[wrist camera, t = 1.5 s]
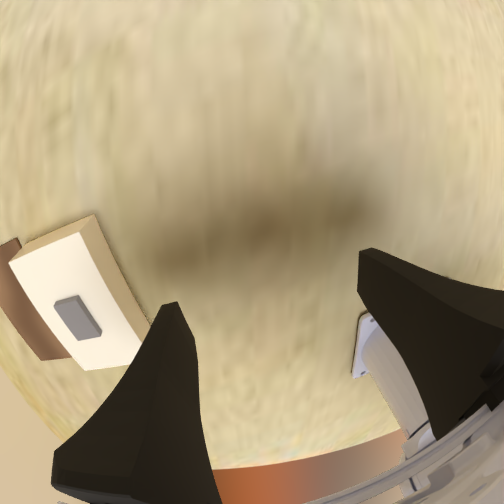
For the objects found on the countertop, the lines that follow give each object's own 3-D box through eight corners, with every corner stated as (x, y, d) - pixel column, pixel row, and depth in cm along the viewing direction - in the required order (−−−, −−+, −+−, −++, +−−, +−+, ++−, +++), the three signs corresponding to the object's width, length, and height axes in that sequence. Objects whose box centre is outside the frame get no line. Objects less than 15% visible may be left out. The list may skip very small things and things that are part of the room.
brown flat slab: (16, 237, 11) (15, 239, 10) (88, 353, 15) (87, 355, 15) (-25, 259, 10) (-26, 261, 10) (41, 359, 15) (41, 360, 15)
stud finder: (96, 211, 11) (75, 235, 9) (156, 330, 16) (153, 365, 13) (28, 240, 11) (4, 267, 9) (92, 343, 15) (83, 375, 13)
